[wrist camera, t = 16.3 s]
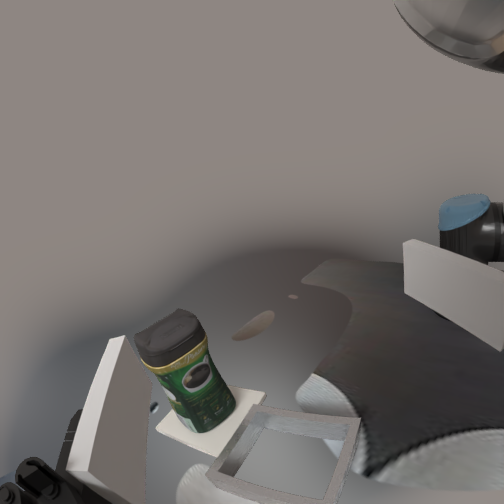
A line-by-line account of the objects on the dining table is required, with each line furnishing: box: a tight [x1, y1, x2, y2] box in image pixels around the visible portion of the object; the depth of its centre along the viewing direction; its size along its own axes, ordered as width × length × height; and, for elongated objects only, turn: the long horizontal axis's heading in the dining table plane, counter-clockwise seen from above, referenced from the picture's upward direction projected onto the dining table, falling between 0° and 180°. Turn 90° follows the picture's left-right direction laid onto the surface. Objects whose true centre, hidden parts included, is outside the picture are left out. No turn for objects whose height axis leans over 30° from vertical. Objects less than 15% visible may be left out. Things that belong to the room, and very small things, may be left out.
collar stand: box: [205, 404, 361, 504], centre depth 27 cm, size 13×15×4 cm
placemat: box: [155, 385, 267, 457], centre depth 39 cm, size 14×14×1 cm
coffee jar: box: [134, 309, 236, 433], centre depth 36 cm, size 10×8×19 cm
